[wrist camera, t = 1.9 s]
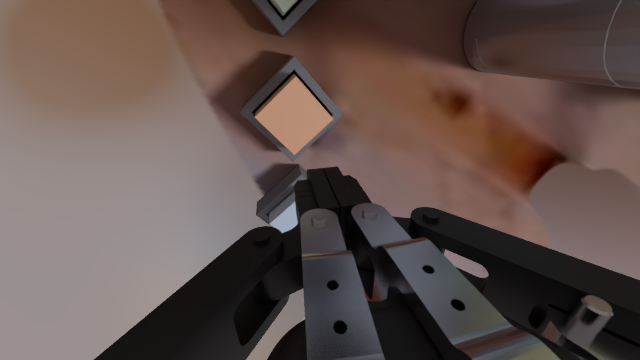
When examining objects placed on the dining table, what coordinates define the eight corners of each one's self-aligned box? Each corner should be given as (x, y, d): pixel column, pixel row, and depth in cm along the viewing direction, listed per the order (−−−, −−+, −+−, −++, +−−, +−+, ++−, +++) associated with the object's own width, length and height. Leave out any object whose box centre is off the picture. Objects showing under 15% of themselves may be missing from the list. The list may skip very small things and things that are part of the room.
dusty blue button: (300, 182, 32) (303, 194, 29) (328, 207, 34) (333, 220, 31) (269, 210, 33) (269, 224, 30) (298, 232, 35) (300, 247, 32)
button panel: (338, -108, 22) (348, -129, 19) (336, 227, 38) (341, 240, 36) (206, -117, 20) (197, -141, 18) (262, 236, 37) (262, 251, 34)
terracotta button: (293, 73, 26) (296, 76, 23) (327, 112, 28) (333, 119, 26) (256, 110, 27) (254, 117, 24) (292, 145, 29) (294, 155, 27)
